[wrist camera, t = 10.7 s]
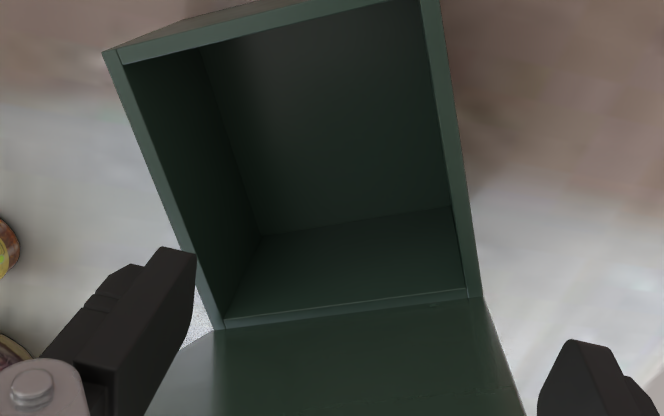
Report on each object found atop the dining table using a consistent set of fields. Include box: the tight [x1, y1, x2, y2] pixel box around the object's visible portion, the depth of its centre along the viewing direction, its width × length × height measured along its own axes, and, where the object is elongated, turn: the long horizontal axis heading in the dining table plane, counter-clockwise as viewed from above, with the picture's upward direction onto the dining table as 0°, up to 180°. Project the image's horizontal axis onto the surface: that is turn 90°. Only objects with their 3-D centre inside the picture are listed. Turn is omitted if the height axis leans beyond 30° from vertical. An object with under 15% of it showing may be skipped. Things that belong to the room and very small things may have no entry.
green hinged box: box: [102, 0, 483, 330], centre depth 33 cm, size 17×16×11 cm
